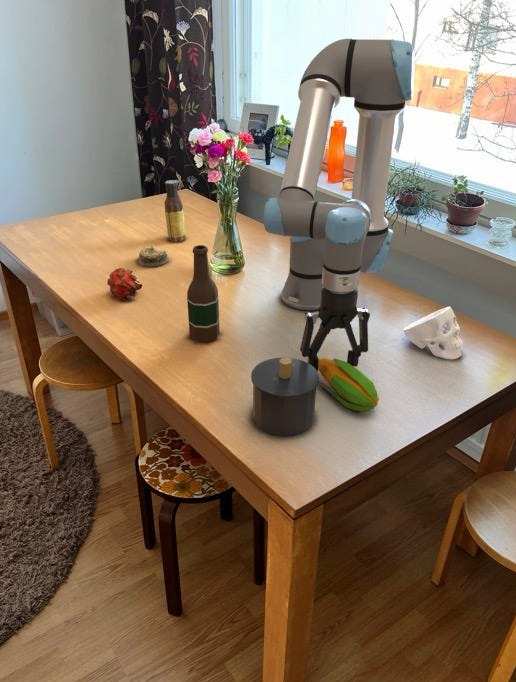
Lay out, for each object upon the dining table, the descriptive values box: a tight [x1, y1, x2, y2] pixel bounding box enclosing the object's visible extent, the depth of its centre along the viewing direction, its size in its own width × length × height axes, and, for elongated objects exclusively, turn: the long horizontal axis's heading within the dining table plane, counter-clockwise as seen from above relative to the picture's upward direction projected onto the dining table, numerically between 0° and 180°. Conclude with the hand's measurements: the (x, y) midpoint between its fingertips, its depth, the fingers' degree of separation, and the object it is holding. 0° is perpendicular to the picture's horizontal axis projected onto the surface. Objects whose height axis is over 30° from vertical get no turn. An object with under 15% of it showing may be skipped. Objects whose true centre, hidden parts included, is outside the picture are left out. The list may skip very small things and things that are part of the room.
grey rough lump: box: [138, 245, 170, 268], centre depth 188 cm, size 10×10×5 cm
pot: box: [252, 384, 317, 437], centre depth 121 cm, size 13×13×10 cm
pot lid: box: [250, 357, 320, 398], centre depth 117 cm, size 14×14×5 cm
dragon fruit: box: [106, 267, 143, 301], centre depth 167 cm, size 8×8×12 cm
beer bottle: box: [186, 244, 220, 344], centre depth 144 cm, size 8×8×24 cm
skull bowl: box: [403, 306, 464, 360], centre depth 145 cm, size 10×14×12 cm
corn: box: [318, 357, 380, 412], centre depth 128 cm, size 7×8×20 cm
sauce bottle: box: [164, 179, 187, 243], centre depth 200 cm, size 7×6×20 cm
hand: (331, 378), depth 133 cm, fingers closed on corn, 7 cm apart
